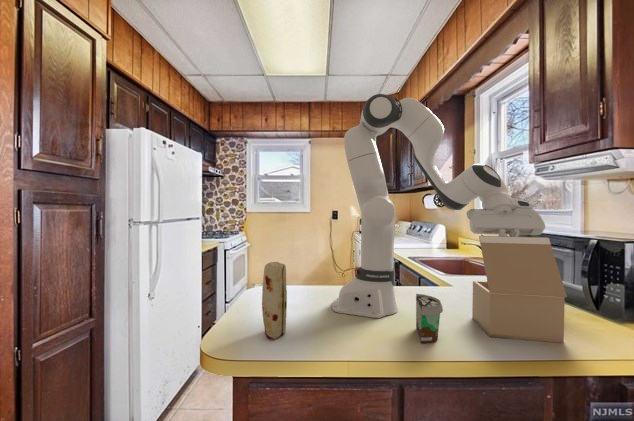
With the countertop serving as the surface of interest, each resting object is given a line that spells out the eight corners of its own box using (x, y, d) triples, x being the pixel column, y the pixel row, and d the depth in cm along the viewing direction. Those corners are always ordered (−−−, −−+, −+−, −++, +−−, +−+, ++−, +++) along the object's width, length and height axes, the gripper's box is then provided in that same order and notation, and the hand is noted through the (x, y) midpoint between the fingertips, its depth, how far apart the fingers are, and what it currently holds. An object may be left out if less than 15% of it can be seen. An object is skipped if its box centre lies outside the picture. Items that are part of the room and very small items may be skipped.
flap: (489, 293, 82) (490, 292, 81) (478, 236, 90) (479, 235, 89) (565, 297, 78) (567, 296, 78) (547, 238, 87) (548, 237, 86)
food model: (264, 327, 87) (265, 259, 87) (287, 327, 87) (288, 259, 87) (259, 343, 77) (259, 265, 77) (285, 342, 78) (285, 265, 77)
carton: (489, 337, 82) (490, 293, 82) (472, 318, 96) (472, 280, 95) (563, 342, 79) (564, 297, 79) (534, 322, 92) (535, 283, 92)
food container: (447, 348, 75) (447, 308, 75) (421, 346, 76) (422, 307, 76) (437, 328, 87) (438, 294, 87) (415, 326, 88) (416, 293, 88)
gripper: (467, 202, 97) (477, 235, 88) (537, 202, 94) (556, 237, 84) (463, 215, 102) (472, 248, 92) (529, 216, 98) (546, 250, 89)
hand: (512, 243), depth 88 cm, fingers closed, pressing on flap
